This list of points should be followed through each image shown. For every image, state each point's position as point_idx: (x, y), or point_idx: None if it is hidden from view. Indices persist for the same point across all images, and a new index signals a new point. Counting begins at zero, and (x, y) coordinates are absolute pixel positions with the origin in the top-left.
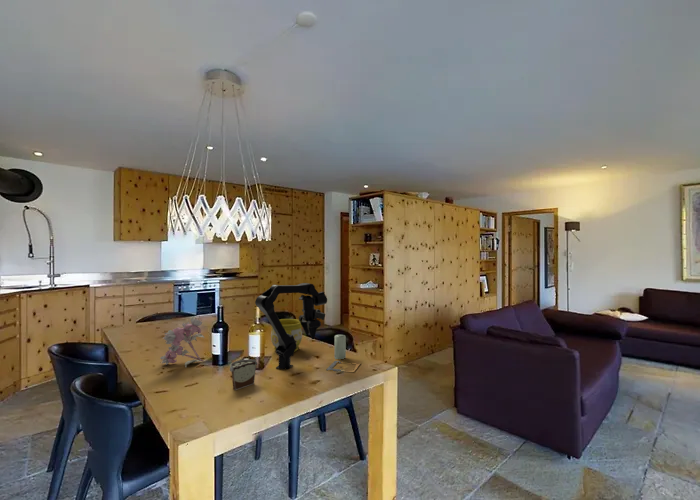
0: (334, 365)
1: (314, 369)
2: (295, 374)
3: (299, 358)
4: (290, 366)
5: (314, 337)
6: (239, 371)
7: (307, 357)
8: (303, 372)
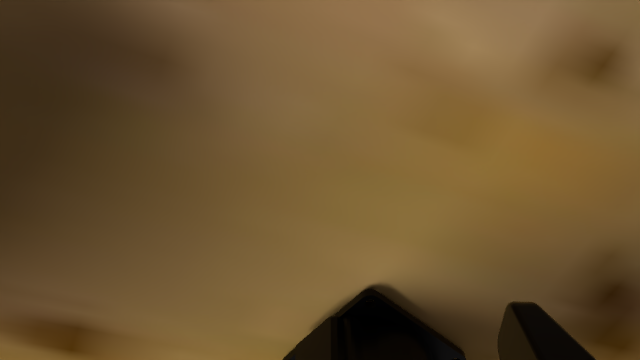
0: None
1: (619, 117)
2: (622, 324)
3: (97, 148)
4: (407, 325)
5: (572, 338)
6: None
7: (73, 33)
8: (624, 250)
